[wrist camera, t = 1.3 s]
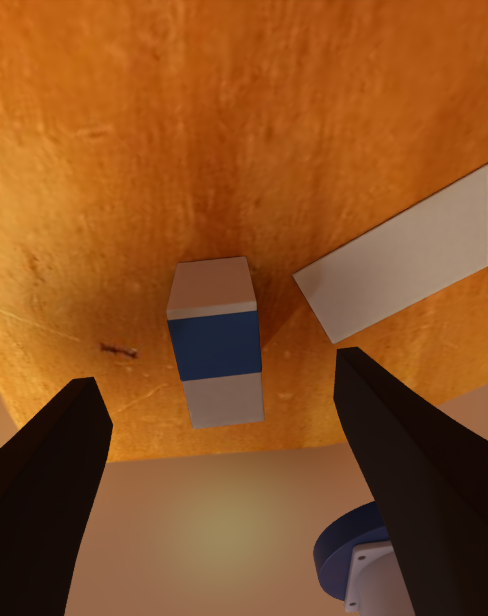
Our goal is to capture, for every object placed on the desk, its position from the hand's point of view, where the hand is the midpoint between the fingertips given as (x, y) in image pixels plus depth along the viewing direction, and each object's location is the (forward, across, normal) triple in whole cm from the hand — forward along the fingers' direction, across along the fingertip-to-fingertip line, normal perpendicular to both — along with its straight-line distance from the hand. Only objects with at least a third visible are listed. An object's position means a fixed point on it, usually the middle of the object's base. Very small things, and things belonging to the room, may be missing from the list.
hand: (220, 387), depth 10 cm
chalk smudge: (+4, -8, -1) cm, 9 cm away
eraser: (+4, 0, 0) cm, 4 cm away
